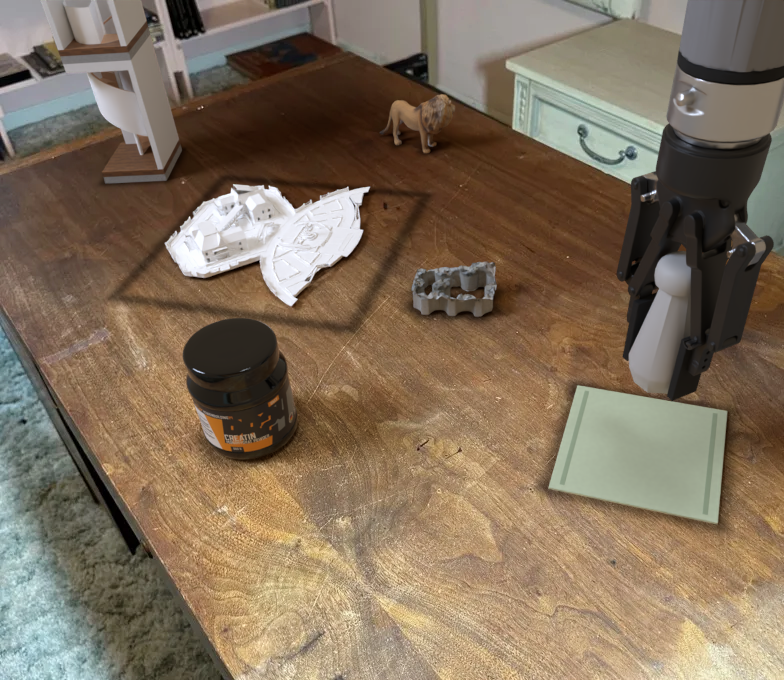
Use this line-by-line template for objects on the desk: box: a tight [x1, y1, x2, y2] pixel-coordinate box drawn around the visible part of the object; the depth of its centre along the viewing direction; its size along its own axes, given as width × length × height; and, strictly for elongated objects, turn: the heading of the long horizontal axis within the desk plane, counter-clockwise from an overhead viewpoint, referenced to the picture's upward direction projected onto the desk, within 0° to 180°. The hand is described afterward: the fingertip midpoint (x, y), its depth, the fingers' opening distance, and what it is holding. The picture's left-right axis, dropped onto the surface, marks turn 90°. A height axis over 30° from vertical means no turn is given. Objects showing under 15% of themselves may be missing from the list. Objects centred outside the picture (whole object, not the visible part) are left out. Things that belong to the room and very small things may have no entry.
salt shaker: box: [628, 250, 691, 395], centre depth 68 cm, size 6×6×13 cm
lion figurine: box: [379, 93, 456, 154], centre depth 129 cm, size 15×5×9 cm, turn 58°
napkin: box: [548, 384, 728, 525], centre depth 79 cm, size 16×16×1 cm
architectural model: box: [164, 183, 371, 307], centre depth 112 cm, size 28×33×4 cm
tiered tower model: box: [39, 0, 183, 184], centre depth 121 cm, size 11×11×35 cm
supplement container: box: [182, 317, 299, 461], centre depth 81 cm, size 10×10×12 cm
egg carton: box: [410, 261, 498, 318], centre depth 98 cm, size 11×8×4 cm
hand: (658, 373), depth 72 cm, fingers closed on salt shaker, 6 cm apart
